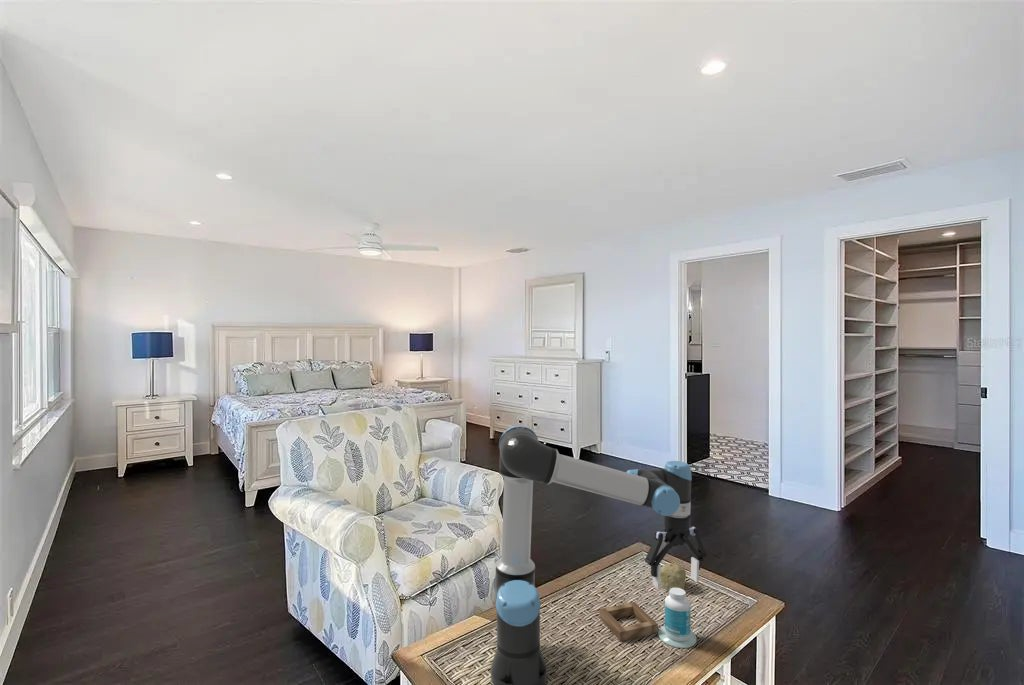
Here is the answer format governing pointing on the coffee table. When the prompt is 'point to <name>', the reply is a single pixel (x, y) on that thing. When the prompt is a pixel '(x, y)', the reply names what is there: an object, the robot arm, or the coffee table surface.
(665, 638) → the coaster
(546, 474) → the robot arm
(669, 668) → the coffee table surface
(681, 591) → the pill bottle
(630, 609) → the walnut frame
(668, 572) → the decorative object
